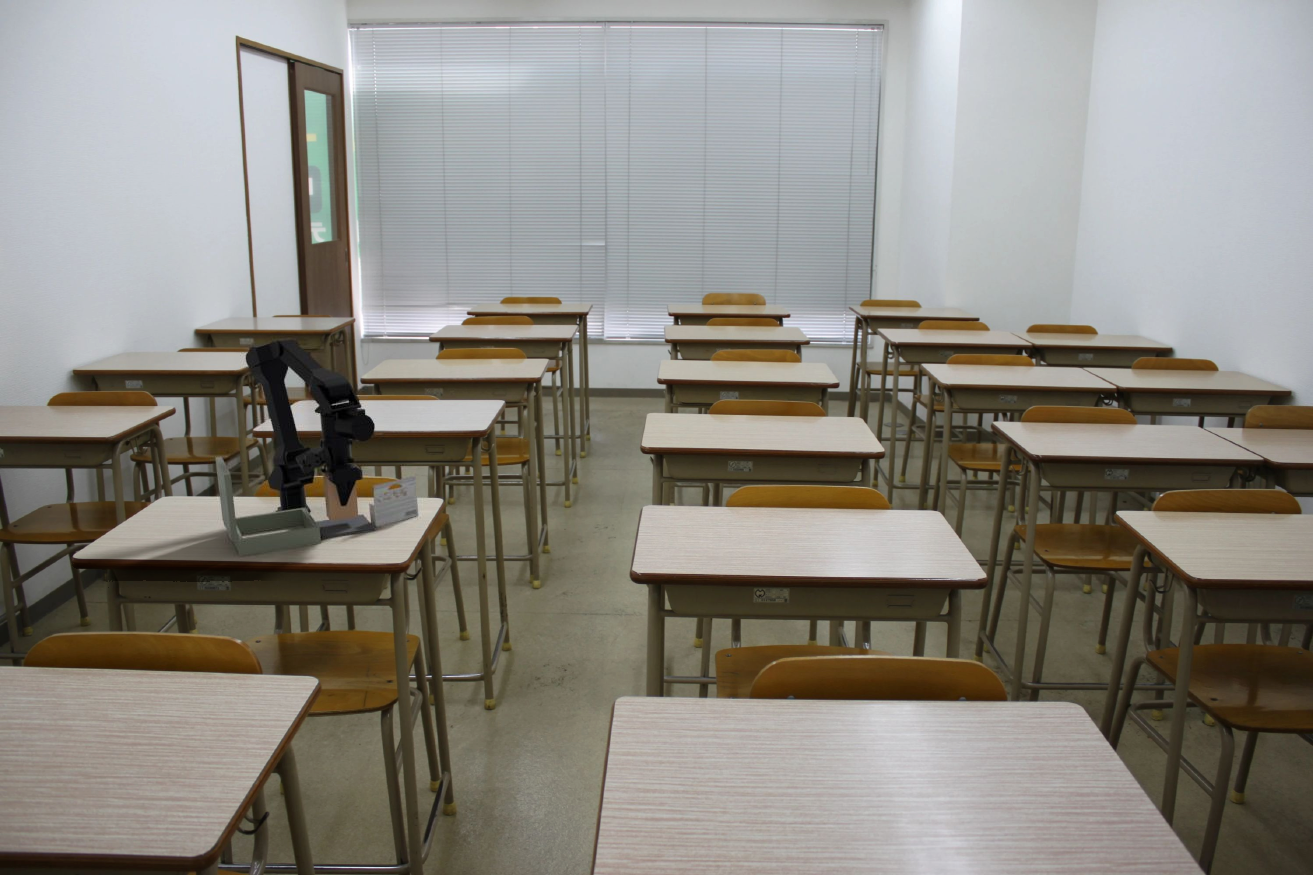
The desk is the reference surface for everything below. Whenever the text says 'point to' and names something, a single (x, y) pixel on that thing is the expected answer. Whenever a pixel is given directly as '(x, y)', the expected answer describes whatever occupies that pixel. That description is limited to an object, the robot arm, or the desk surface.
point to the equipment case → (263, 523)
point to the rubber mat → (344, 526)
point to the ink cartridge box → (394, 502)
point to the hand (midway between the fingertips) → (341, 503)
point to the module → (338, 501)
